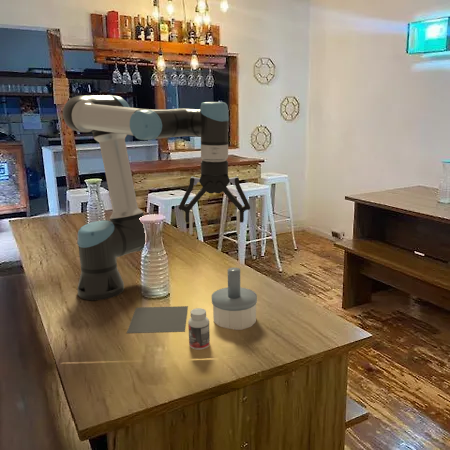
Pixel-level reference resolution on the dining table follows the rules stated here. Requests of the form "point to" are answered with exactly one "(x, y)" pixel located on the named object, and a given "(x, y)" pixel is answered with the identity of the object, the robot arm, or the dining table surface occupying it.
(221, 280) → the dining table surface
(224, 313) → the bowl
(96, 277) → the robot arm
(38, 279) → the dining table surface
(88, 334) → the dining table surface
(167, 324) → the mat
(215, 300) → the lid
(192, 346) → the pill bottle
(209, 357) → the dining table surface
